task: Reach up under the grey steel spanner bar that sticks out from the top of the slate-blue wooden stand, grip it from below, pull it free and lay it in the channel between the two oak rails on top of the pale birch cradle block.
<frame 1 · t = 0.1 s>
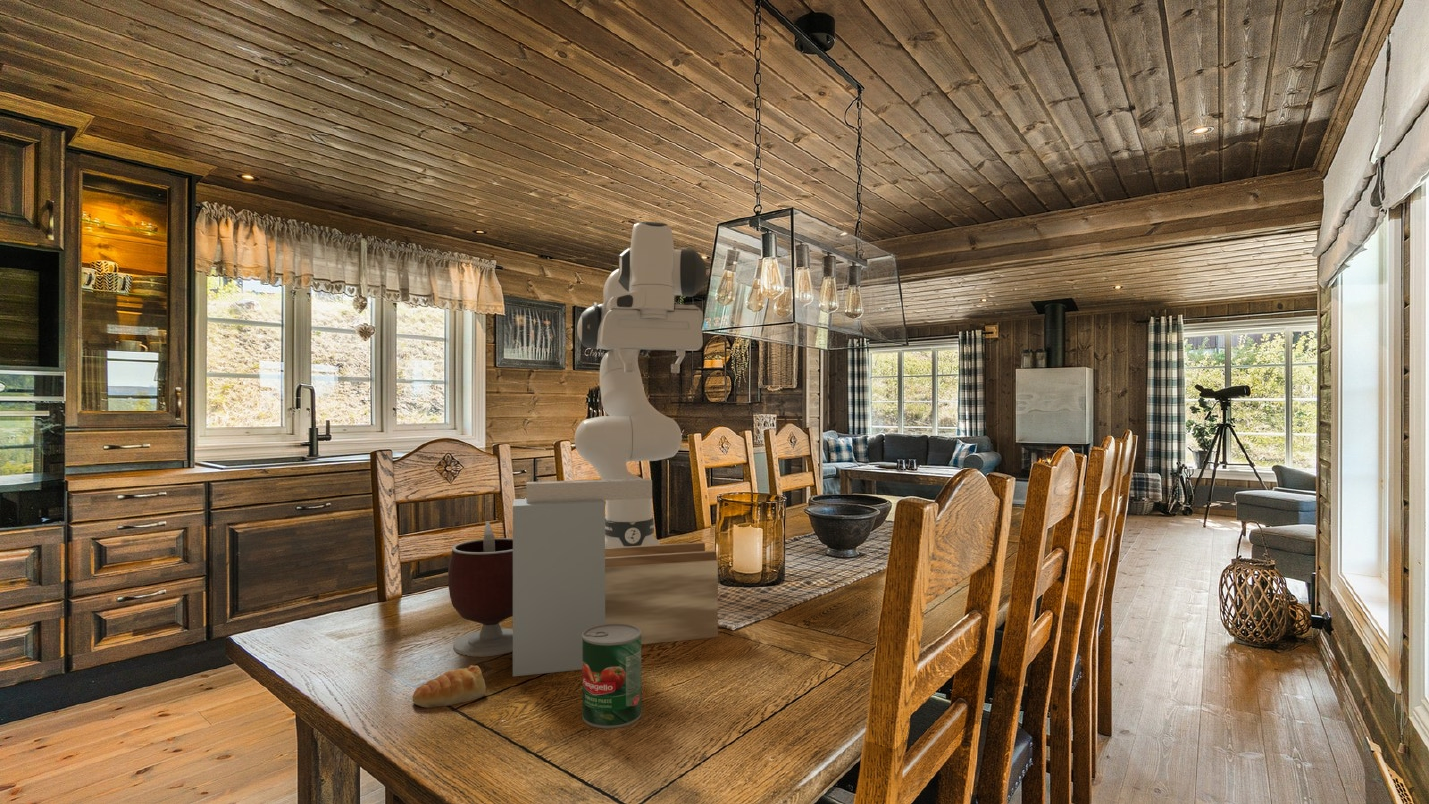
hand: (651, 372, 134), 48 cm above the table, tool pointing down, fingers open, 8 cm apart
cradle block: (648, 633, 123), on the table
stand: (558, 662, 109), on the table
canned tomato: (612, 716, 90), on the table
spanner bar: (589, 499, 110), point 26 cm above the table, touching stand
pastry: (453, 699, 96), on the table
mate gourd: (490, 643, 118), on the table
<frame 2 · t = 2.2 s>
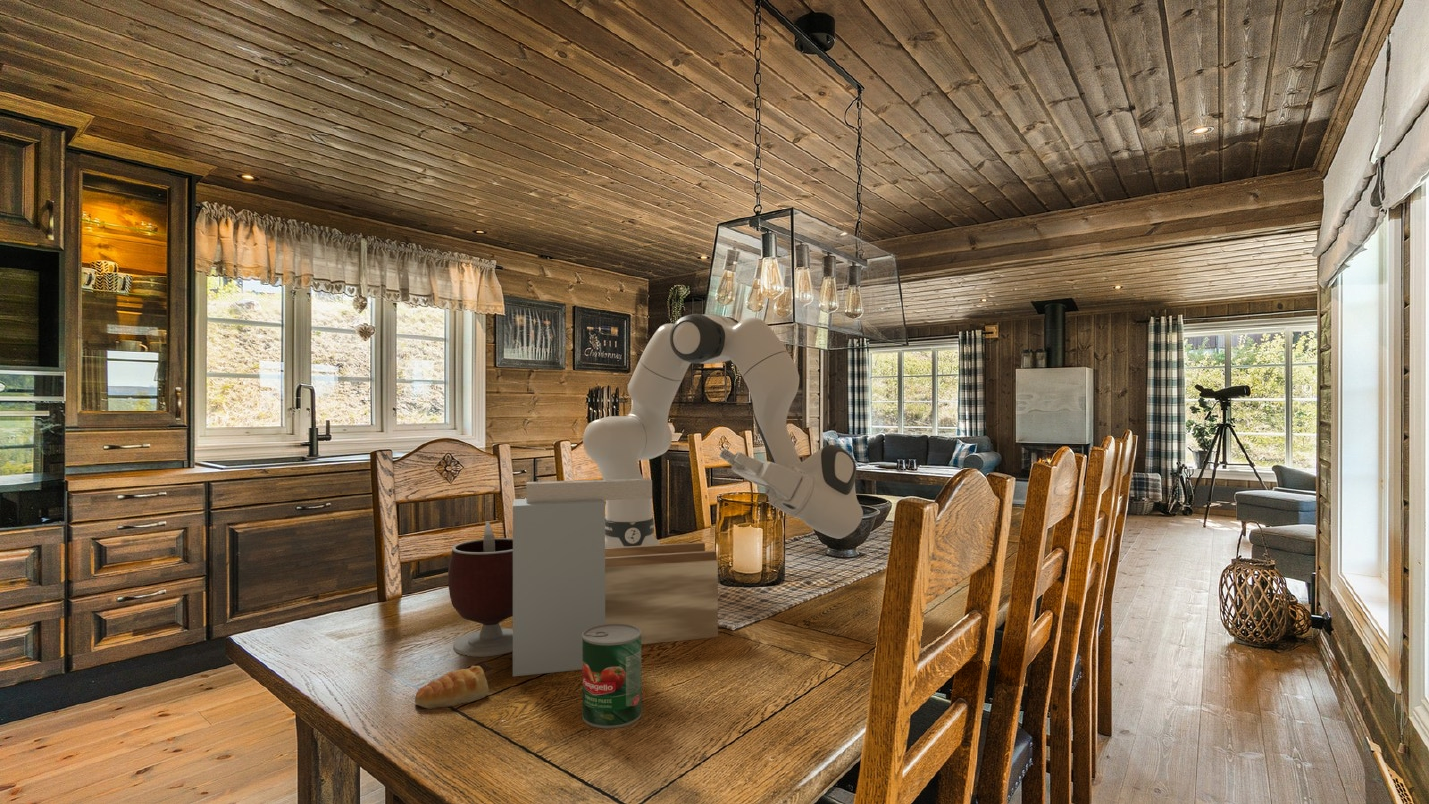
hand: (728, 454, 128), 32 cm above the table, tool pointing upward, fingers open, 8 cm apart
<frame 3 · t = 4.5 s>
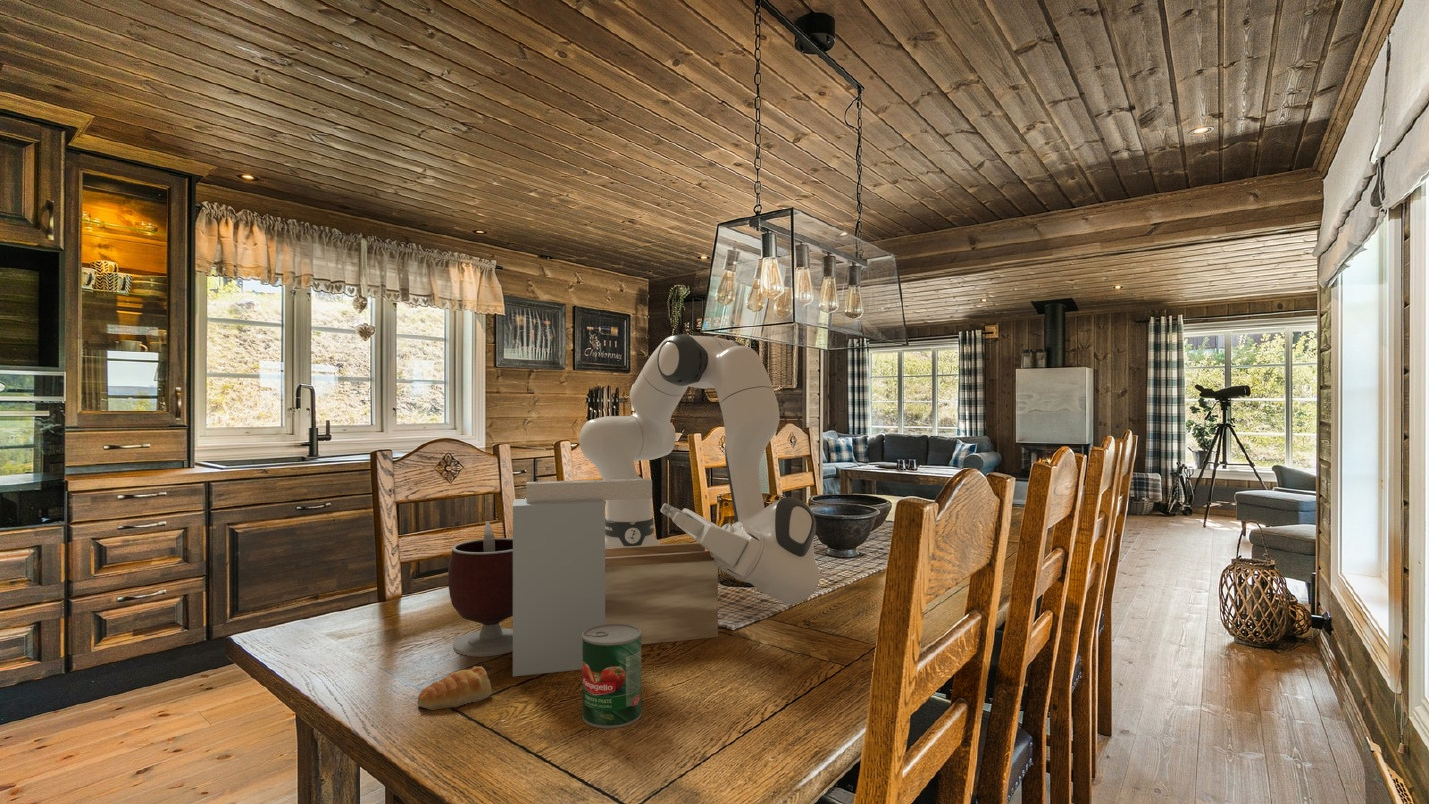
hand: (668, 511, 114), 23 cm above the table, tool pointing upward, fingers open, 8 cm apart
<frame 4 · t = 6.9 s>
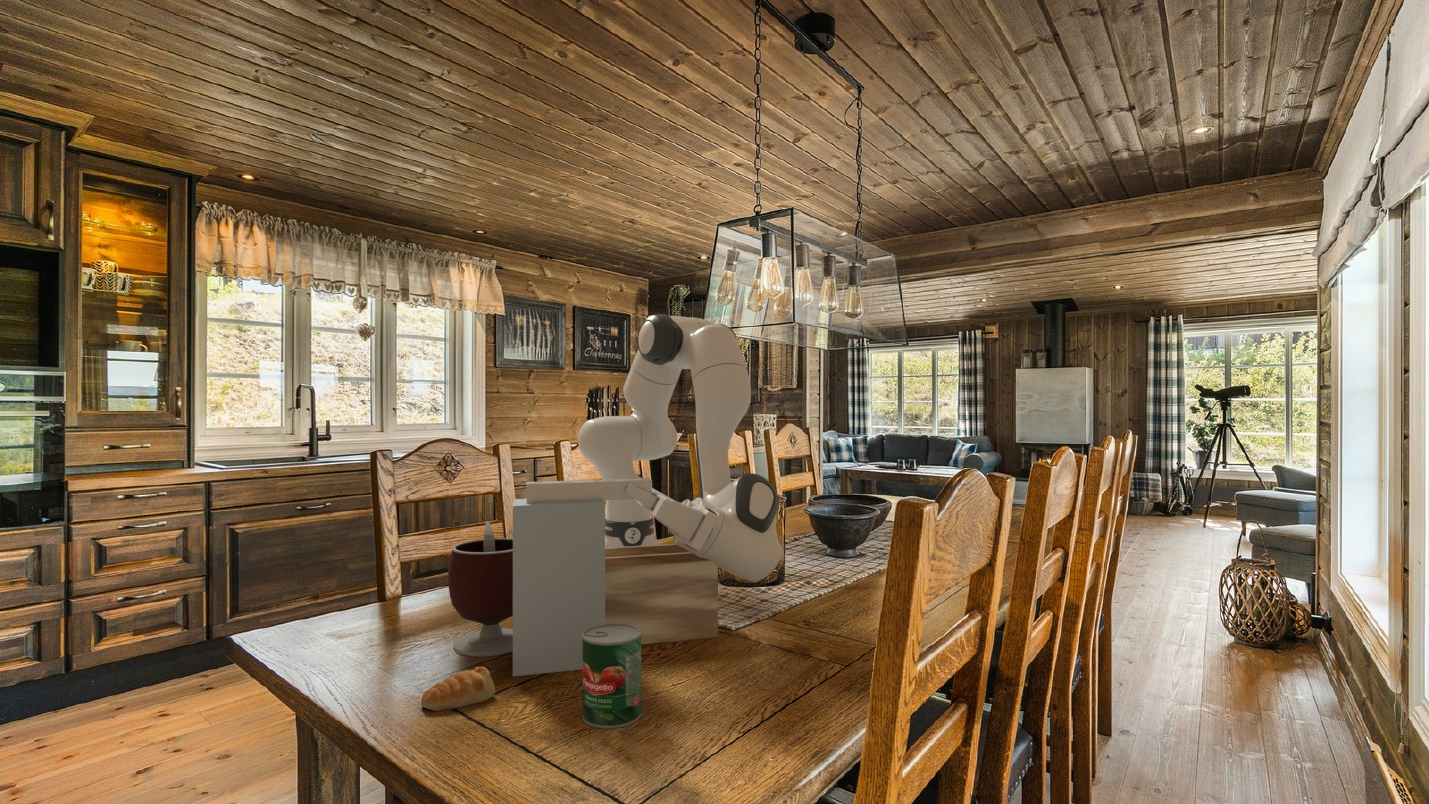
hand: (625, 486, 112), 28 cm above the table, tool pointing upward, fingers closed on spanner bar, 3 cm apart
spanner bar: (589, 499, 110), point 26 cm above the table, touching gripper, stand
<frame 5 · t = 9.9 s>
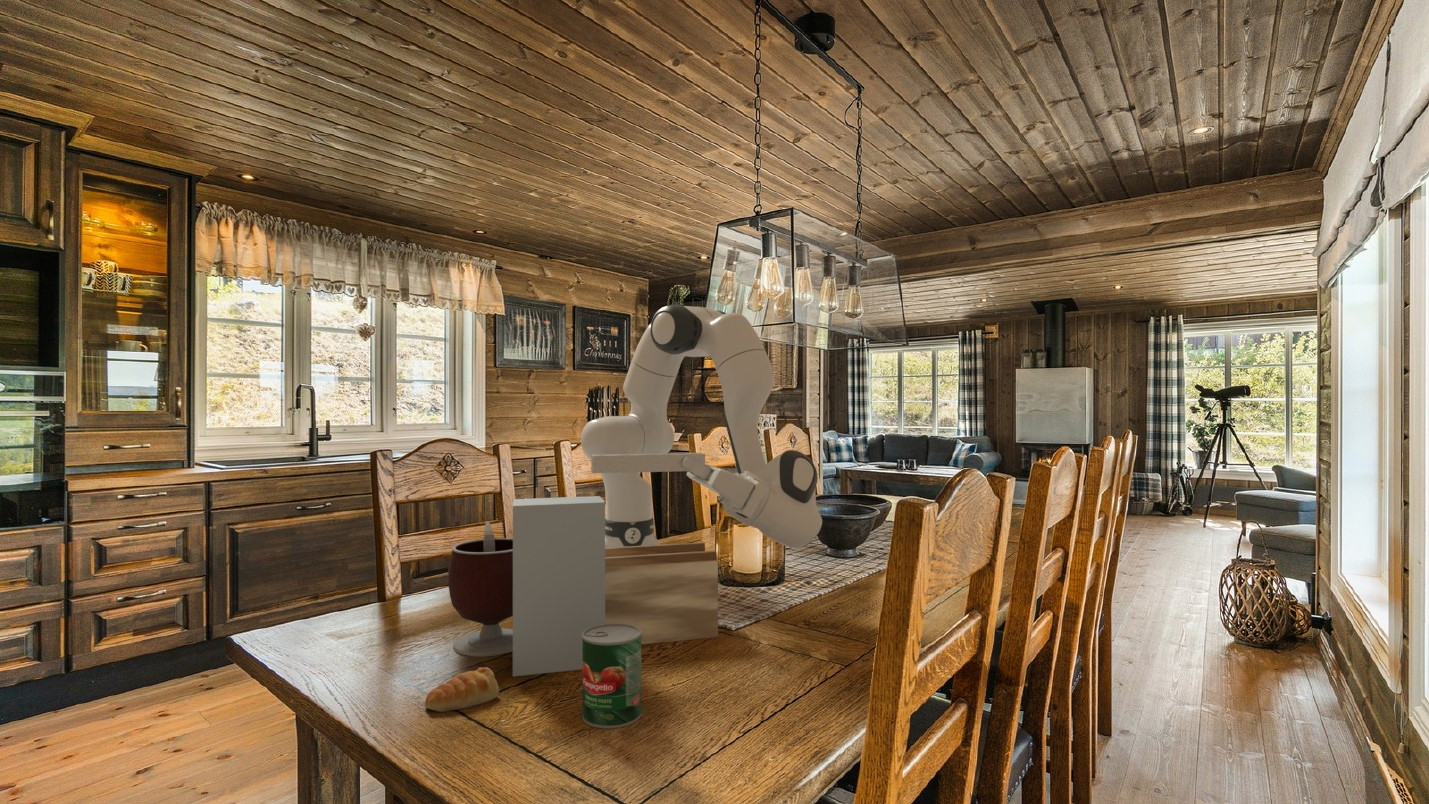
hand: (680, 459, 122), 32 cm above the table, tool pointing upward, fingers closed on spanner bar, 3 cm apart
spanner bar: (648, 471, 120), point 30 cm above the table, touching gripper
when the fingers open (19 cm above the table, at t = 13.1 s): spanner bar drops 4 cm, resting on cradle block.
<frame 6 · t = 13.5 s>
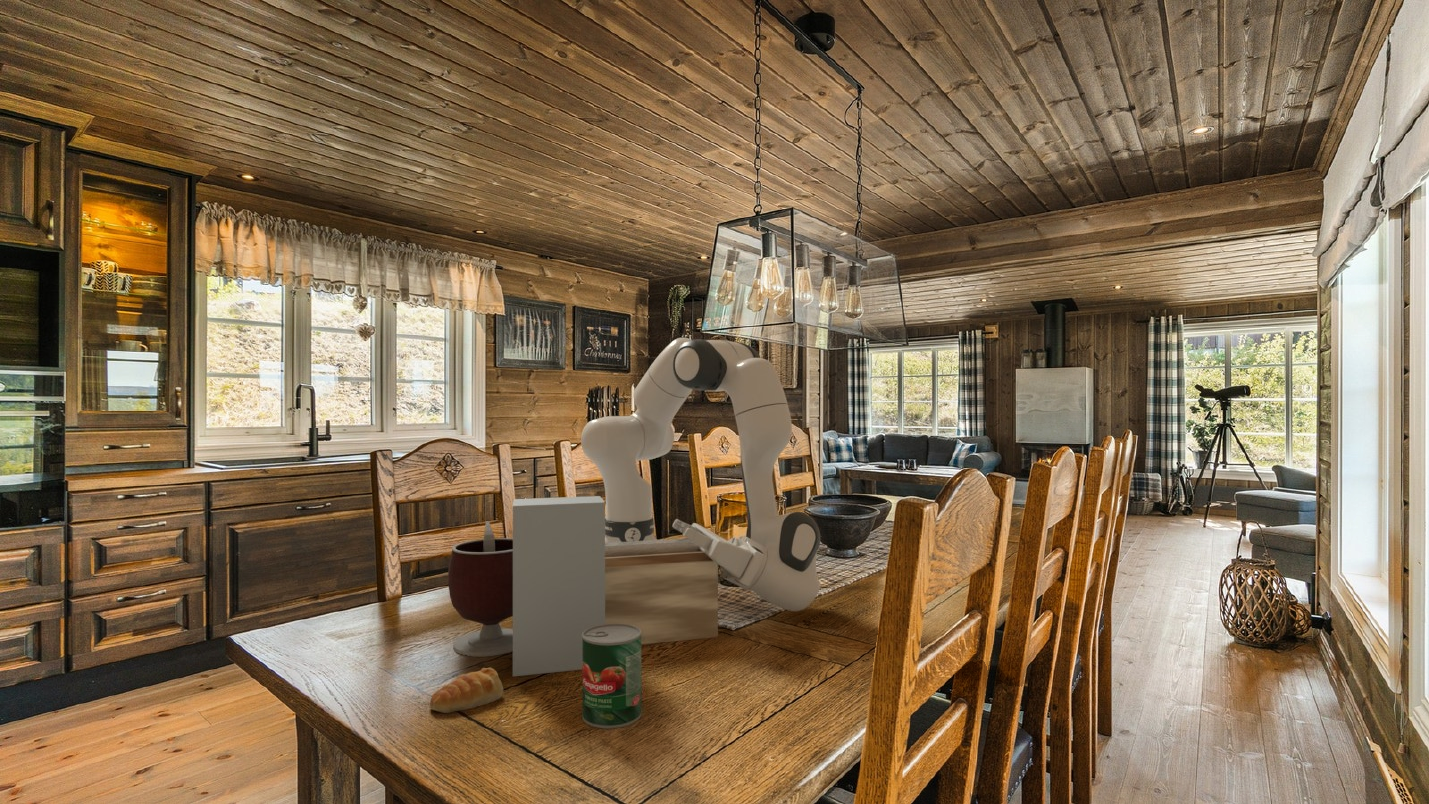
hand: (679, 527, 124), 19 cm above the table, tool pointing upward, fingers open, 7 cm apart
spanner bar: (649, 558, 123), point 13 cm above the table, touching cradle block
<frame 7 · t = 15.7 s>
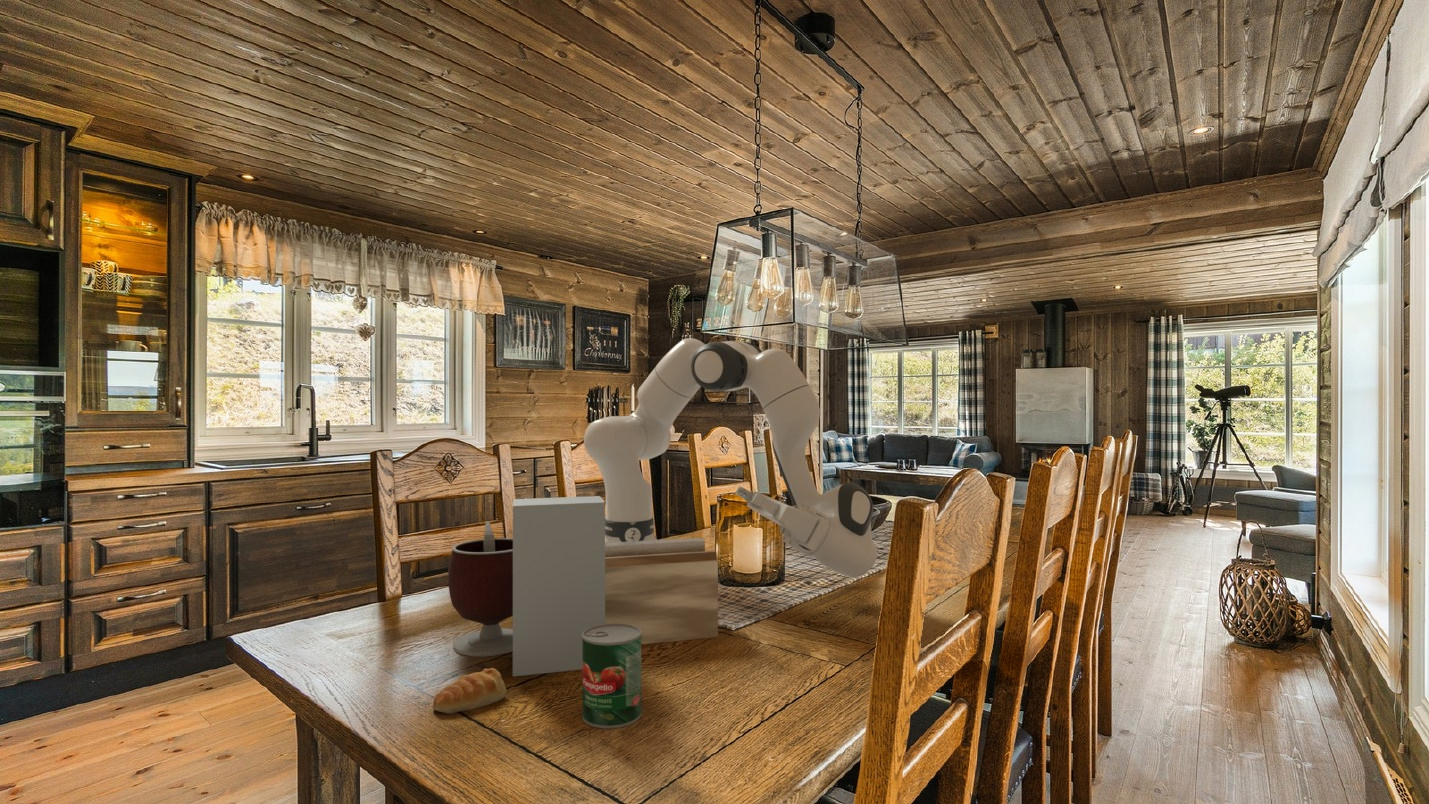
hand: (745, 493, 128), 25 cm above the table, tool pointing upward, fingers open, 8 cm apart
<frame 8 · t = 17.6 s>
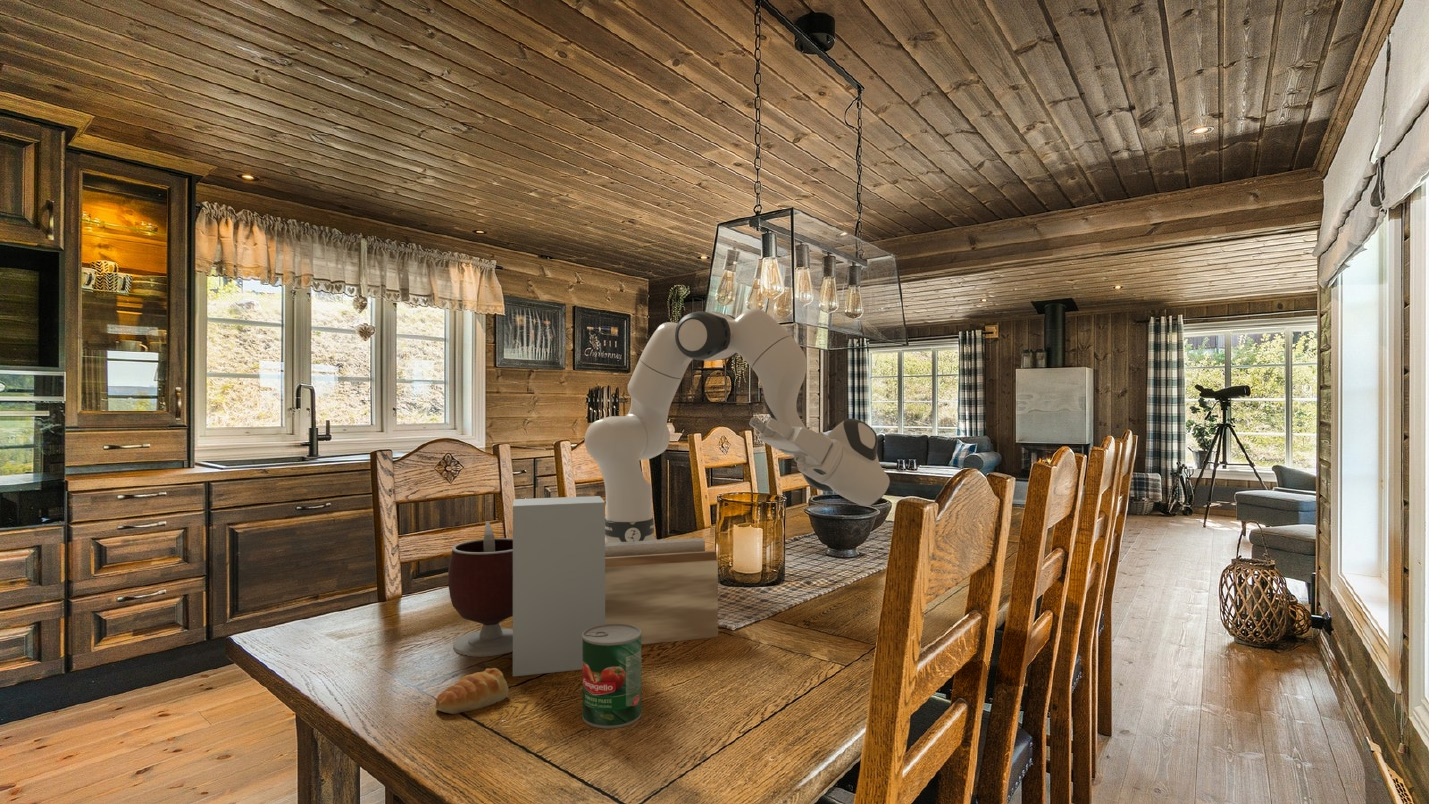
hand: (759, 420, 130), 38 cm above the table, tool pointing upward, fingers open, 8 cm apart
at the end: spanner bar inside the target area on the cradle block (0.5 cm from its centre), point 13.5 cm above the cradle block's base; the gripper is holding nothing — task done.
